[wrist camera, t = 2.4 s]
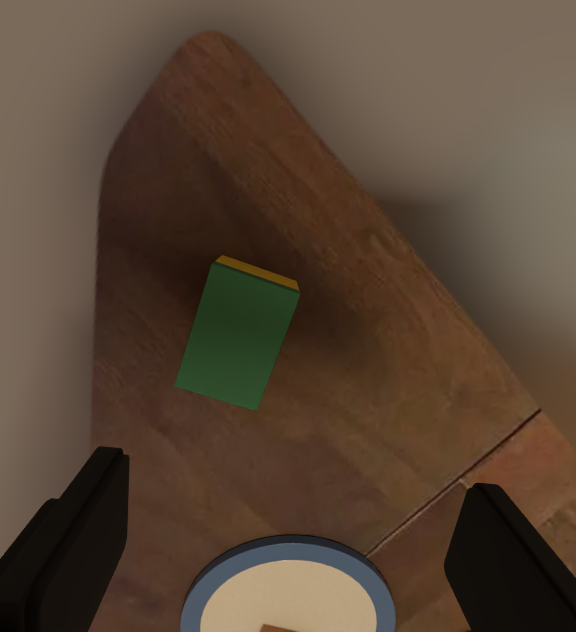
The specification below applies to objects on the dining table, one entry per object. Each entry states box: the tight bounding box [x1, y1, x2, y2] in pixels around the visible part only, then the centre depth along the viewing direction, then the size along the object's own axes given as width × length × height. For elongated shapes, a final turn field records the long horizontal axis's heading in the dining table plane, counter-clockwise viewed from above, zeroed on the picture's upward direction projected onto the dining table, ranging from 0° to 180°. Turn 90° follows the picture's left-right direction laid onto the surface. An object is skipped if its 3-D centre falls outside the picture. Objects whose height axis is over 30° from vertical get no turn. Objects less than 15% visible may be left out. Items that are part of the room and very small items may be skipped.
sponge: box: [174, 255, 301, 411], centre depth 23 cm, size 8×5×4 cm, turn 160°
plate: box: [180, 535, 396, 632], centre depth 32 cm, size 18×18×1 cm
